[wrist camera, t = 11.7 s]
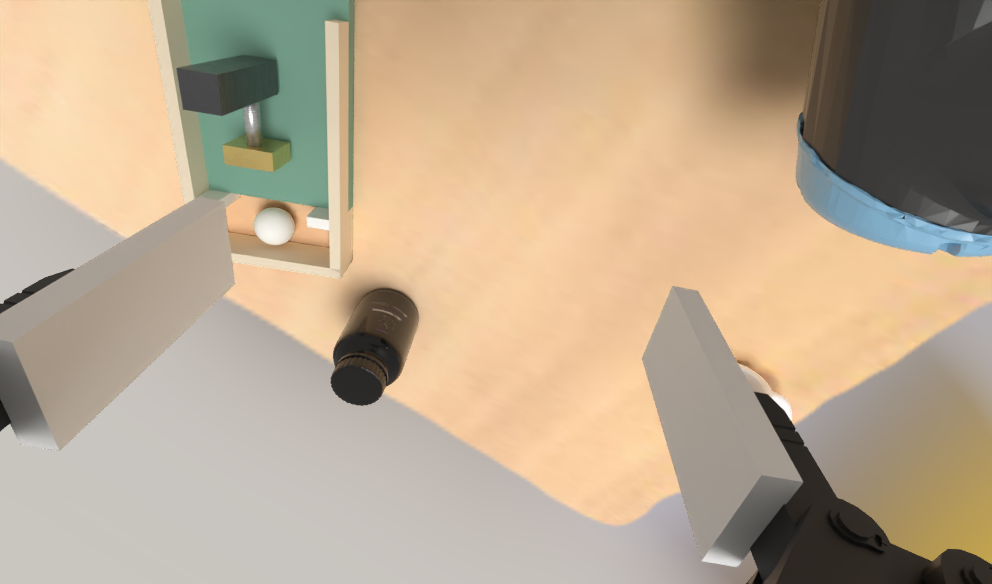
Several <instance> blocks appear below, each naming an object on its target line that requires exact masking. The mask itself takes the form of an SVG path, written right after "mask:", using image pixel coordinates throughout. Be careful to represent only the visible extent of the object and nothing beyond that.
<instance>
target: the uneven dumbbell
mask: <svg viewBox="0 0 992 584" xmlns="http://www.w3.org/2000/svg"><path fill="white" fill-rule="evenodd" d="M176 70H177V76H178V82H179V88H180V94H181V100H182V106H183V110H189V111H194V112H200V113H206V114H212V115H218V116H224V115H226V114H229V113H231V112H234V111H237V110H239V109H242V108H243V114H244V123H245V133H246V135H242V136H240V137H238V138H236V139H234V140H231V141H229V142H227V143H225V144H223V145H222V146H223V154H224V161H225V164H226V165H232V166H238V167H244V168H251V169H257V170H263V171H269V172H275V171H276V170H278V169H279V168H280V167H282V166H283V165H285V164H286V163H288V162H289V161H290V160H291V152H290V142H286V141H280V140H274V139H268V138H262V132H261V120H260V109H259V102H260V101H262V100H265V99H267V98H270V97H272V96H275V95H277V94H278V83H277V68H276V60H272V59H266V58H260V57H254V56H249V55H239V56H234V57H229V58H224V59H219V60H213V61H208V62H203V63H198V64H193V65H188V66H183V67H178V68H176Z"/></svg>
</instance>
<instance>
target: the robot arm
mask: <svg viewBox="0 0 992 584" xmlns="http://www.w3.org/2000/svg"><path fill="white" fill-rule="evenodd" d="M797 136H798V141H799V146H798V155H797V164H796V182H797V185H798V187H799V189H800V190H801V194H802V196H803V197H804V200H805V201H806V203H807V204H808V205H809V206H810V207H811V208H812V209H813V210H814V211H815V212H816V213H818V214H819V215H820V216H821V217H823V218H824V219H826V220H827V221H829V222H830V223H832V224H834V225H836V226H837V227H839V228H841V229H843V230H846V231H848V232H850V233H852V234H855V235H857V236H860V237H862V238H865V239H867V240H870V241H873V242H877V243H880V244H883V245H887V246H890V247H894V248H898V249H903V250H908V251H913V252H919V253H926V254H932V253H934V252H935V251H936V250H937V249H939V250H942V251H945V252H947V253H949V254H951V255H954V256H956V257H982V256H991V255H992V0H821V1H820V8H819V14H818V20H817V26H816V33H815V39H814V45H813V52H812V58H811V64H810V70H809V77H808V83H807V89H806V96H805V102H804V108H803V112H802V113H801V114H800V115H799V118H798V122H797ZM234 284H235V281H234V273H233V264H232V256H231V248H230V240H229V232H228V224H227V216H226V208H225V202H223V201H217V200H212V199H207V198H201V197H197V198H195V199H193V200H192V201H190V202H188V203H187V204H185V205H183V206H182V207H180V208H178V209H177V210H175V211H173V212H171V213H170V214H168V215H166V216H165V217H163V218H161V219H160V220H158V221H156V222H155V223H153V224H151V225H149V226H148V227H146V228H144V229H143V230H141V231H139V232H138V233H136V234H134V235H133V236H131V237H129V238H128V239H126V240H124V241H122V242H121V243H119V244H117V245H116V246H114V247H112V248H111V249H109V250H107V251H106V252H104V253H102V254H101V255H99V256H97V257H95V258H94V259H92V260H90V261H89V262H87V263H85V264H84V265H82V266H80V267H79V268H77V269H69V270H67V271H63V272H61V273H57V274H54V275H52V276H48V277H45V278H43V279H41V280H39V281H38V282H36V283H34V284H32V285H31V286H29V287H27V288H25V289H24V290H22V293H17V294H15V295H13V296H11V297H10V298H8V299H6V300H5V301H4V303H3V304H0V431H1V430H2V429H4V427H6V426H7V425H9V424H11V426H12V428H13V430H14V433H15V434H16V437H17V439H18V441H19V443H20V445H26V446H32V447H38V448H44V449H50V450H56V451H60V450H61V449H62V448H63V447H64V446H65V445H66V444H67V443H68V442H70V441H71V440H72V439H73V438H74V437H75V436H76V435H77V434H78V433H79V432H80V431H81V430H82V429H83V428H84V427H85V426H86V425H87V424H88V423H89V422H90V421H92V420H93V419H94V418H95V417H96V415H98V414H99V413H100V412H101V411H102V410H103V409H104V408H105V407H106V406H107V405H108V404H109V403H110V402H112V401H113V400H114V399H115V398H116V397H117V396H118V395H119V394H120V393H121V392H122V391H123V390H124V389H125V388H126V387H127V386H128V385H129V384H130V383H131V382H132V381H133V380H134V379H136V378H137V377H138V376H139V375H140V374H141V373H142V372H143V371H144V370H145V369H146V368H147V367H148V366H149V365H150V364H151V363H152V362H153V361H155V360H156V359H157V357H159V356H160V355H161V354H162V353H163V352H164V351H165V350H166V349H167V348H168V347H169V346H170V345H171V344H172V343H173V342H174V341H175V340H176V339H178V337H180V336H181V335H182V334H183V333H184V332H185V331H186V330H187V329H188V328H189V327H190V326H191V325H192V324H193V323H194V322H195V321H196V320H197V319H199V317H201V316H202V315H203V314H204V313H205V312H206V311H207V310H208V309H209V308H210V307H211V306H212V305H213V304H214V303H215V302H216V301H217V300H218V299H220V298H221V297H222V296H223V295H224V294H225V293H226V292H227V291H228V290H229V289H230V288H231V287H232V286H233V285H234ZM642 360H643V364H644V367H645V371H646V374H647V377H648V381H649V384H650V388H651V391H652V394H653V398H654V401H655V405H656V408H657V411H658V415H659V418H660V422H661V425H662V428H663V432H664V435H665V439H666V442H667V446H668V449H669V452H670V456H671V459H672V463H673V466H674V469H675V473H676V476H677V480H678V483H679V486H680V490H681V493H682V497H683V500H684V503H685V507H686V510H687V514H688V517H689V520H690V524H691V527H692V530H693V534H694V537H695V541H696V544H697V548H698V551H699V555H700V558H701V561H704V562H710V563H716V564H722V565H728V566H734V567H738V566H739V564H740V563H741V562H742V560H743V559H744V558H745V557H746V555H747V554H748V553H749V551H750V550H751V552H752V555H753V557H754V560H755V562H756V565H757V568H758V570H757V571H756V572H755V574H754V575H753V576H752V577H751V578H750V580H749V581H748V582H747V583H746V584H992V564H990V563H988V562H986V561H985V560H983V559H981V558H980V557H978V556H976V555H974V554H971V553H968V552H966V551H963V550H958V549H947V550H946V551H945V552H943V553H942V554H941V555H939V556H938V557H937V558H936V559H935V560H934V561H930V560H928V559H925V558H923V557H921V556H918V555H916V554H914V553H912V552H909V551H907V550H905V549H902V548H900V547H898V546H895V545H893V544H891V543H890V542H889V540H888V538H887V536H886V534H885V533H884V531H883V530H882V529H881V528H880V527H879V526H878V525H877V523H876V522H875V521H874V520H873V519H872V518H871V517H870V516H868V515H867V514H866V513H864V512H863V511H862V510H860V509H859V508H858V507H856V506H854V505H852V504H850V503H848V502H846V501H844V500H842V499H838V498H837V497H836V495H835V493H834V492H833V490H832V488H831V487H830V485H829V483H828V482H827V480H826V479H825V477H824V475H823V473H822V472H821V470H820V468H819V467H818V465H817V463H816V462H815V460H814V458H813V457H812V455H811V453H810V452H809V450H808V448H807V447H805V446H804V442H803V440H802V438H801V437H800V435H799V433H798V432H795V427H794V425H793V424H792V422H791V420H790V419H789V417H788V415H787V414H786V412H785V410H784V409H782V408H781V407H780V406H779V405H778V404H777V403H776V402H775V401H774V400H773V399H772V398H771V397H770V396H769V395H768V394H765V393H759V392H754V391H753V390H752V388H751V386H750V384H749V383H748V381H747V379H746V377H745V375H744V374H743V372H742V370H741V368H740V366H739V364H738V363H737V361H736V359H735V357H734V355H733V354H732V352H731V350H730V348H729V346H728V345H727V343H726V341H725V339H724V337H723V335H722V334H721V332H720V330H719V328H718V326H717V325H716V323H715V321H714V319H713V317H712V315H711V314H710V312H709V310H708V308H707V306H706V305H705V303H704V301H703V299H702V297H701V296H700V294H699V292H698V291H696V290H691V289H685V288H680V287H675V286H672V289H671V291H670V293H669V296H668V298H667V300H666V303H665V305H664V307H663V310H662V312H661V315H660V317H659V319H658V322H657V324H656V326H655V329H654V331H653V333H652V336H651V338H650V341H649V343H648V345H647V348H646V350H645V352H644V355H643V357H642Z"/></svg>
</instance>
